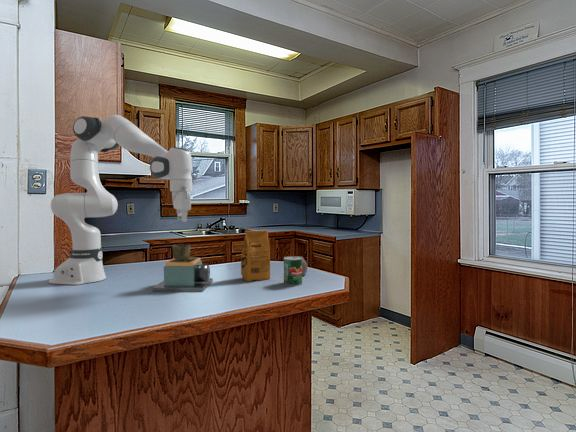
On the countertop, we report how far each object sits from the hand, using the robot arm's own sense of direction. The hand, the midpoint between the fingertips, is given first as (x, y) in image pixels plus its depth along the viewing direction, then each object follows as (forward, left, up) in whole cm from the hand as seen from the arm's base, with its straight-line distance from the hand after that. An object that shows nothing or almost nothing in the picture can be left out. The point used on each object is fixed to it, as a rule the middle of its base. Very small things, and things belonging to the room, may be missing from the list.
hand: (182, 220), depth 148 cm
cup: (0, -1, -18) cm, 18 cm away
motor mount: (+1, -1, -27) cm, 27 cm away
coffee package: (+29, +13, -27) cm, 42 cm away
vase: (+49, +20, -27) cm, 59 cm away
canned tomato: (+46, +4, -27) cm, 53 cm away
